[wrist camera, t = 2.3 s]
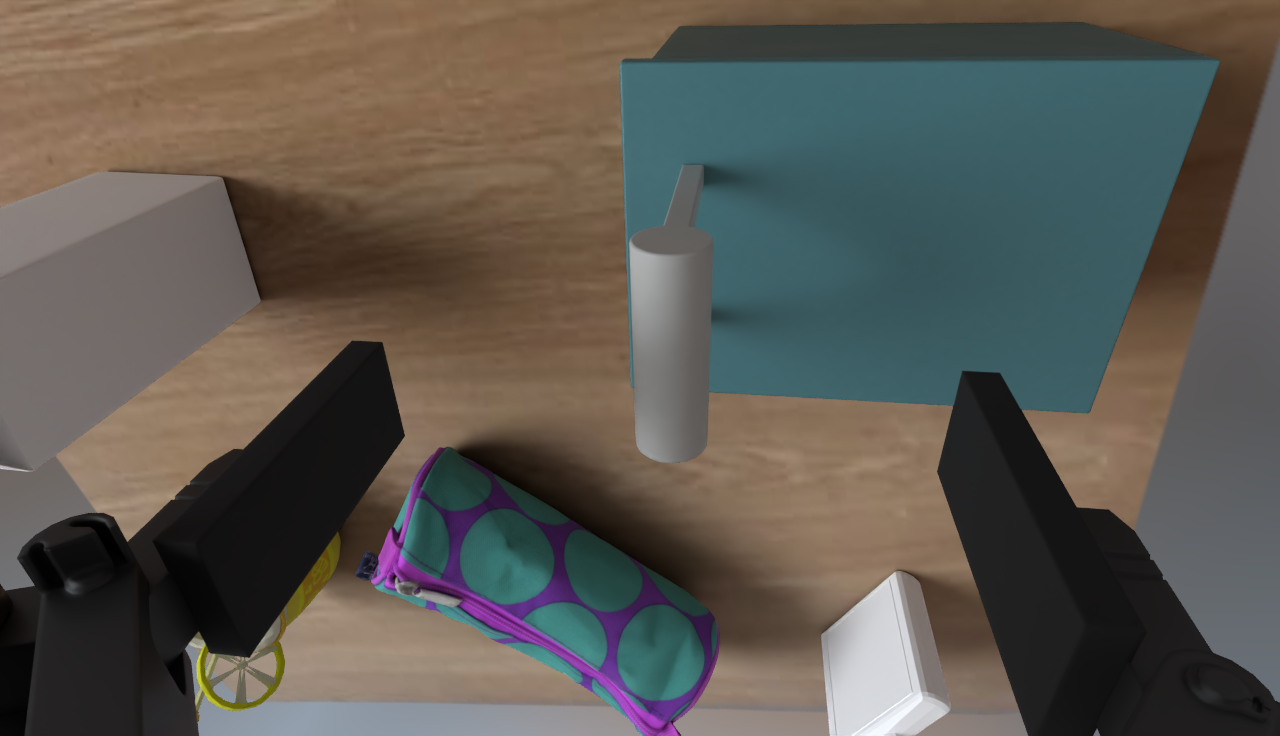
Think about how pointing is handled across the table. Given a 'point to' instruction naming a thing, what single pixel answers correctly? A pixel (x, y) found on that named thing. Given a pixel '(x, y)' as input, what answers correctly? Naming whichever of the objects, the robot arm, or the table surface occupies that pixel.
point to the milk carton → (108, 298)
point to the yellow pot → (266, 639)
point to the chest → (909, 41)
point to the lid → (889, 225)
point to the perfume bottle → (884, 664)
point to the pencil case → (547, 591)
